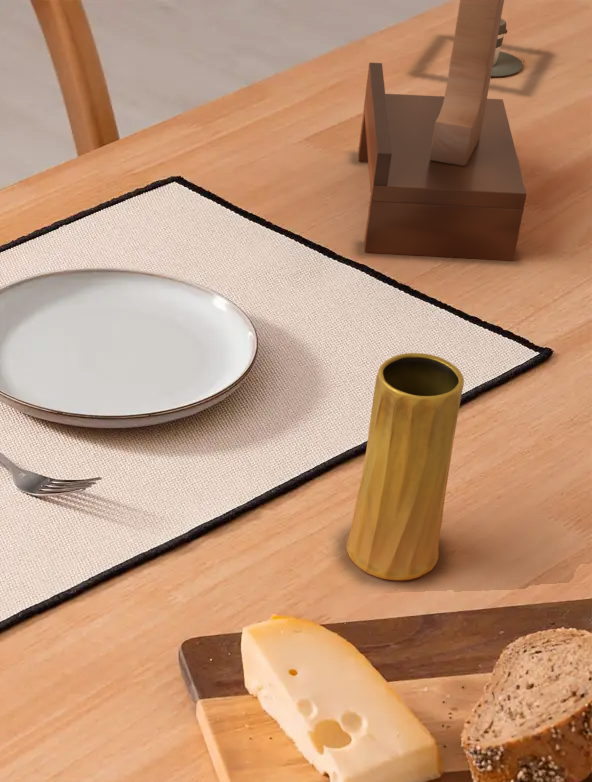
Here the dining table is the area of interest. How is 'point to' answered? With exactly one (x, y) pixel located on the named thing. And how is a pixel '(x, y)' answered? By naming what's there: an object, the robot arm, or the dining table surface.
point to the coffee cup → (504, 57)
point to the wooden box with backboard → (437, 181)
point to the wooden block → (467, 81)
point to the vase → (406, 467)
